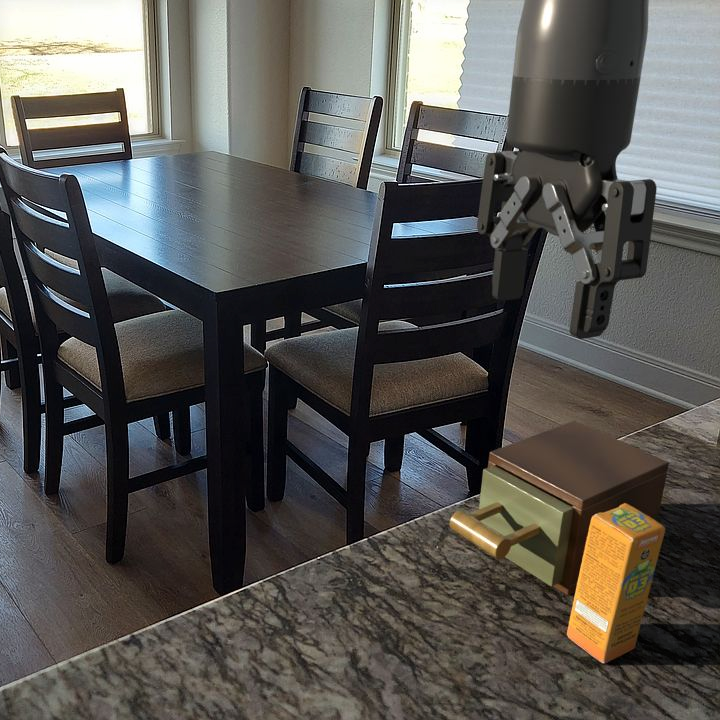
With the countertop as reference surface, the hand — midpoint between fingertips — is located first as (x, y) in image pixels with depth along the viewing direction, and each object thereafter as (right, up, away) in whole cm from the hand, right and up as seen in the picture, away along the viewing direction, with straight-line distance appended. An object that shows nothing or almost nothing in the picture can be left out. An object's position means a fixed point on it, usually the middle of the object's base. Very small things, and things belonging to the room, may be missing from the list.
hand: (543, 316), depth 59 cm
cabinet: (+5, -18, +9) cm, 21 cm away
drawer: (+1, -18, +7) cm, 19 cm away
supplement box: (+3, -23, -2) cm, 23 cm away
